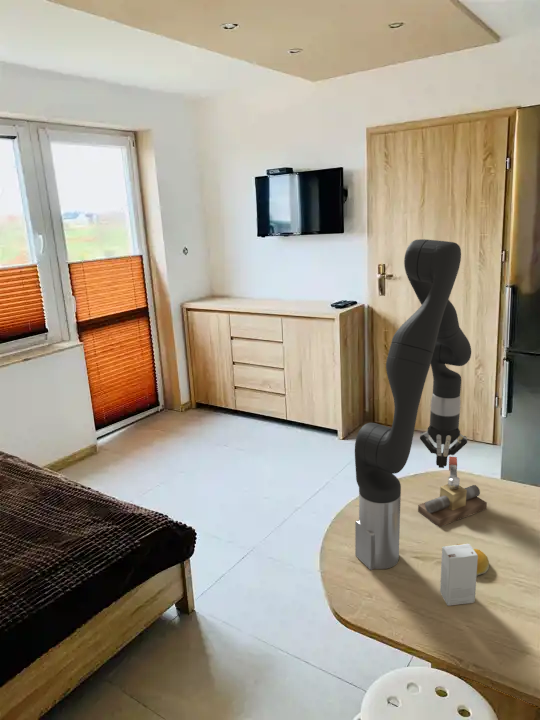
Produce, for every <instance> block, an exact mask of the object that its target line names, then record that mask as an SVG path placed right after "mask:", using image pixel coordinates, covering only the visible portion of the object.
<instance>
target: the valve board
mask: <svg viewBox="0 0 540 720" xmlns="http://www.w3.org/2000/svg"><path fill="white" fill-rule="evenodd" d="M480 495H481V490H480V488H479V486H478V485H476V484H472V485H469V486H466V487H462V486H461V485H459V488H458V489H451V488H449V487H448V483H447V484H444V485H441V486H440V488H439V497H436V498H434V499H433V498H432V499H430V500H427V501H424V502H422V503H420V504H417V505H418V508H417V512H418V513H419V514H421V515H423V516H424V517H425V518H426V519H427V520H429V521H430V522H432V524H435V525H436V526H437V527H439V528H440V527H444V526H447V525H448V524H450V523H453V522H456V521H458V520H461V519H464V518H467V517H470V516H472V515H474V514H478V513H480V512H482V511H485V510H487V503H488V502H487V501H485V500H483V499H482V498H481V497H479V496H480Z"/></svg>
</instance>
